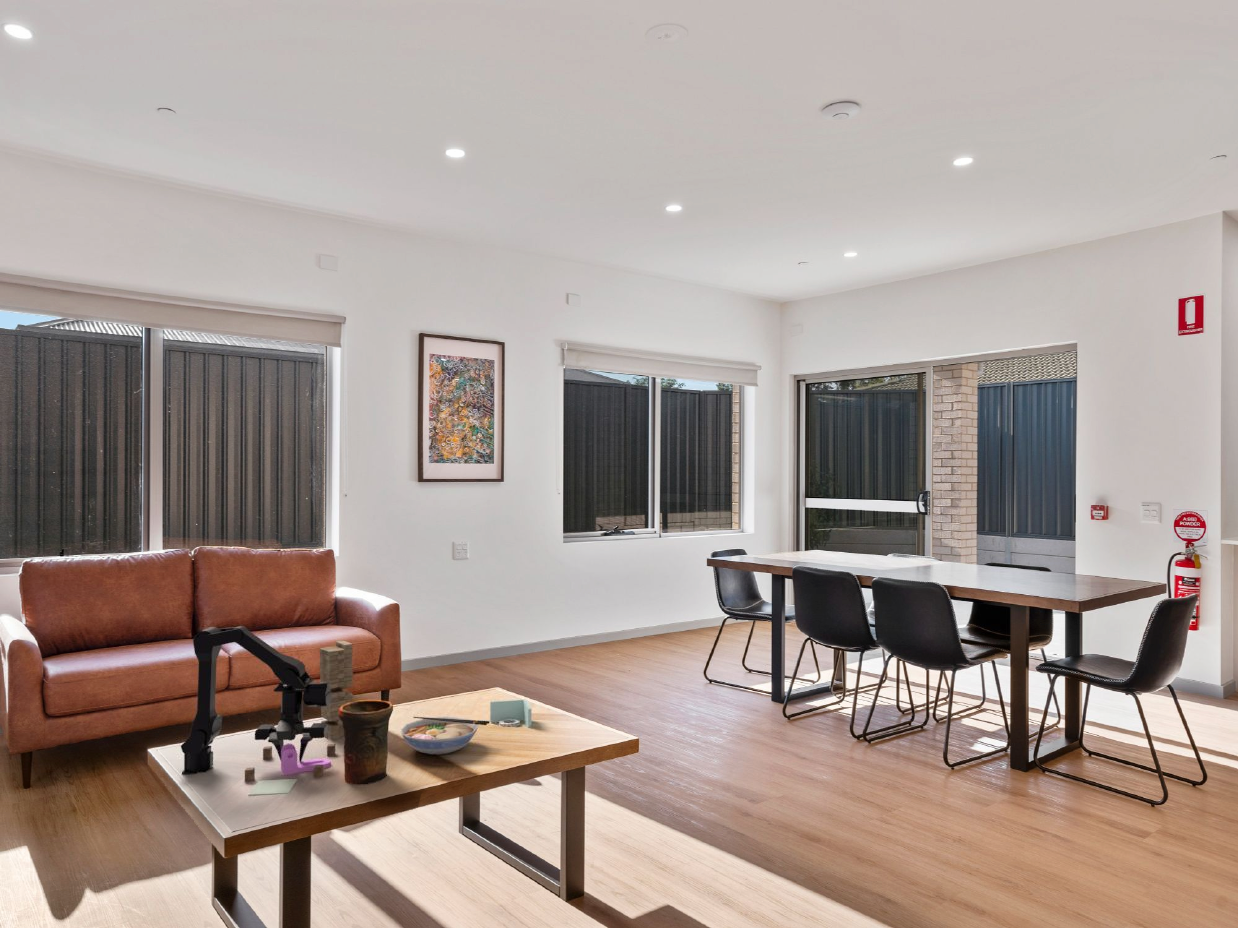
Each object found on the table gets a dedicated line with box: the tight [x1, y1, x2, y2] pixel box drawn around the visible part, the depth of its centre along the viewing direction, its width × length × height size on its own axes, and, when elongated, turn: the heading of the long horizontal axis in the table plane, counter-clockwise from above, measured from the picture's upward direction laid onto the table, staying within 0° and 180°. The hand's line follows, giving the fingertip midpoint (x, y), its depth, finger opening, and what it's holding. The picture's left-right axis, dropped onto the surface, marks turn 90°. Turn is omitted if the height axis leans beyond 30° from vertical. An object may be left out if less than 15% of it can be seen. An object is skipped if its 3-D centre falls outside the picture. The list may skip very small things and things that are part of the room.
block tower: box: [318, 640, 354, 741], centre depth 274 cm, size 8×8×29 cm
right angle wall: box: [489, 698, 532, 729], centre depth 283 cm, size 12×12×8 cm
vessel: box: [338, 699, 394, 786], centre depth 236 cm, size 14×14×20 cm
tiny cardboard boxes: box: [244, 743, 336, 782], centre depth 245 cm, size 20×20×3 cm
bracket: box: [280, 742, 332, 776], centre depth 244 cm, size 13×6×7 cm, turn 117°
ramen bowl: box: [400, 716, 490, 755], centre depth 258 cm, size 25×23×8 cm
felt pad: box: [247, 778, 299, 797], centre depth 229 cm, size 10×10×1 cm
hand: (291, 761), depth 245 cm, fingers closed on bracket, 5 cm apart
